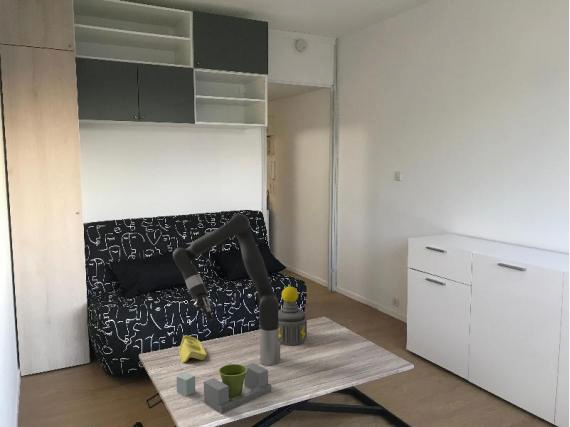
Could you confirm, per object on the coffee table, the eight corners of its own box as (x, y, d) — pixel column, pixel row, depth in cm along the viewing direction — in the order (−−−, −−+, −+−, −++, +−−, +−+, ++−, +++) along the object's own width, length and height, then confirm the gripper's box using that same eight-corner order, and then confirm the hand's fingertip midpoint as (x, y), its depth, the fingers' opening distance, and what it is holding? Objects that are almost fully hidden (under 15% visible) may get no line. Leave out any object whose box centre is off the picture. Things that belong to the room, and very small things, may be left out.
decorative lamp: (314, 338, 261) (314, 286, 258) (292, 348, 247) (291, 293, 244) (288, 331, 273) (288, 280, 270) (266, 340, 259) (265, 287, 256)
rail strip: (267, 389, 202) (267, 383, 201) (271, 391, 200) (271, 384, 200) (218, 411, 184) (217, 404, 184) (221, 414, 182) (221, 406, 182)
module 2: (214, 398, 194) (213, 377, 193) (228, 407, 187) (228, 385, 186) (203, 402, 191) (203, 381, 190) (218, 412, 184) (218, 390, 183)
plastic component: (207, 355, 233) (189, 350, 229) (201, 369, 233) (182, 364, 229) (199, 339, 251) (182, 334, 247) (193, 351, 251) (176, 346, 247)
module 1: (185, 387, 204) (185, 372, 204) (195, 391, 201) (195, 375, 200) (176, 392, 200) (176, 376, 200) (186, 396, 197) (186, 380, 196)
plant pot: (246, 402, 191) (246, 375, 190) (217, 402, 191) (216, 376, 190) (248, 388, 203) (247, 363, 202) (220, 388, 203) (220, 363, 202)
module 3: (253, 382, 209) (252, 362, 208) (268, 390, 201) (268, 369, 201) (244, 386, 205) (244, 366, 204) (259, 394, 198) (259, 373, 197)
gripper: (192, 283, 213) (208, 318, 208) (210, 281, 224) (225, 314, 219) (181, 291, 215) (196, 326, 210) (199, 289, 227) (213, 321, 222)
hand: (211, 320), depth 215 cm, fingers closed
